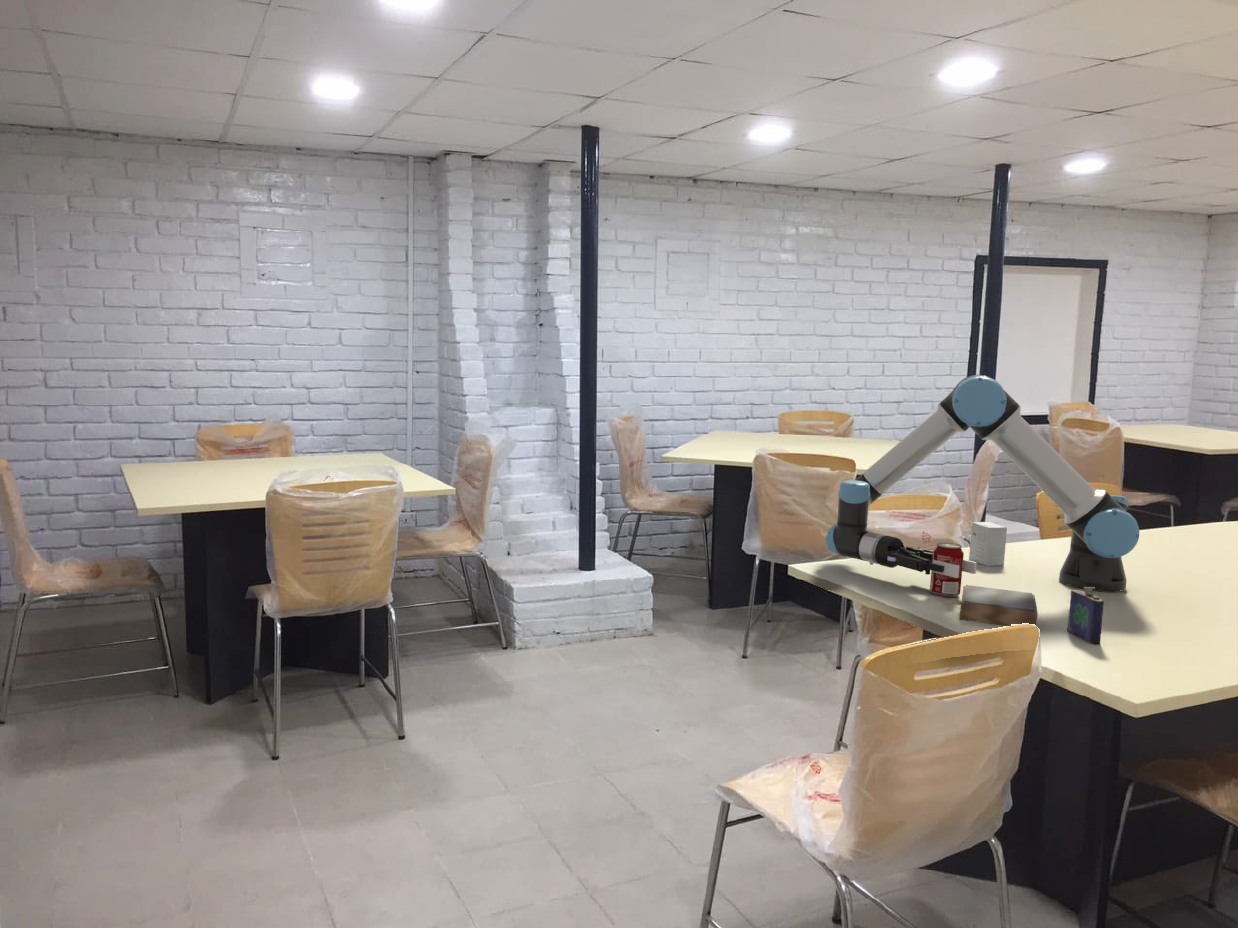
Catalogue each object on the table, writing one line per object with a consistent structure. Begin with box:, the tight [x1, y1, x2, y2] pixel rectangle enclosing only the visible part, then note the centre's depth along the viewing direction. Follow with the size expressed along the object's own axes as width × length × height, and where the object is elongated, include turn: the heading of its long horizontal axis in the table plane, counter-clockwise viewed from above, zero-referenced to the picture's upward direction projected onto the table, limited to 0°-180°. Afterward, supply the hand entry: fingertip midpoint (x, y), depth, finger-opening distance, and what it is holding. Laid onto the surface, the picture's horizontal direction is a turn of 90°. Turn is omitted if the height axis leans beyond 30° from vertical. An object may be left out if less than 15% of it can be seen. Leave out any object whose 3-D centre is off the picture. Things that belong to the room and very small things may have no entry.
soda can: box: [929, 541, 965, 598], centre depth 226 cm, size 7×7×12 cm
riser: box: [959, 584, 1039, 626], centre depth 212 cm, size 15×16×4 cm
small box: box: [968, 521, 1008, 567], centre depth 262 cm, size 8×6×10 cm
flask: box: [1066, 587, 1105, 646], centre depth 197 cm, size 9×3×11 cm, turn 8°
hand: (966, 569), depth 222 cm, fingers closed on soda can, 6 cm apart
